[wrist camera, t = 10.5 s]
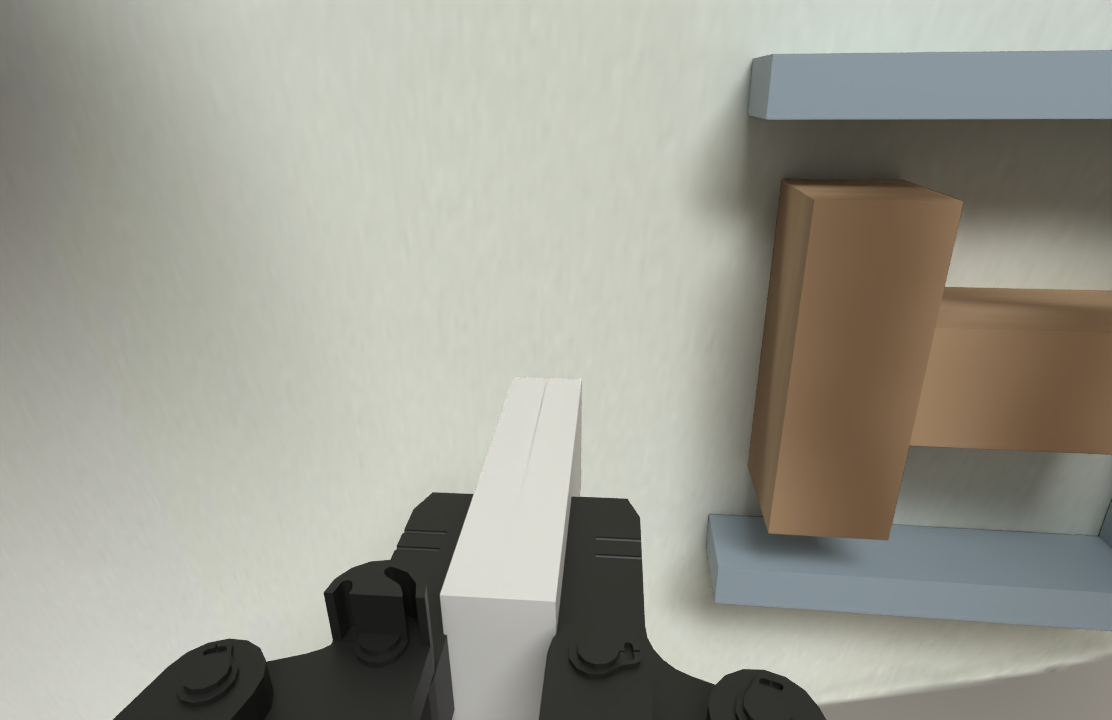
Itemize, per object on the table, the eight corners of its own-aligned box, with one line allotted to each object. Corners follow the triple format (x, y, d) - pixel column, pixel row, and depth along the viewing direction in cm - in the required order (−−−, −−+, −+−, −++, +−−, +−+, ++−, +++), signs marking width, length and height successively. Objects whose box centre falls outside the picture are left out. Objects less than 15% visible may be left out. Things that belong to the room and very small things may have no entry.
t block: (747, 464, 24) (768, 533, 20) (781, 179, 20) (814, 200, 17) (1060, 480, 23) (1141, 555, 19) (1158, 181, 19) (1282, 204, 15)
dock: (705, 547, 25) (714, 602, 23) (752, 58, 19) (773, 54, 16) (1131, 573, 24) (1196, 636, 21) (1338, 52, 17) (1471, 46, 15)
